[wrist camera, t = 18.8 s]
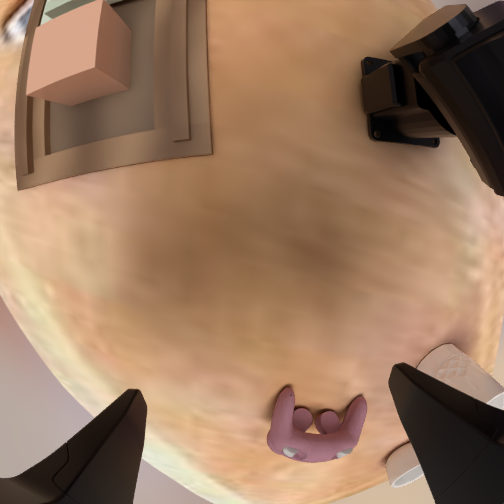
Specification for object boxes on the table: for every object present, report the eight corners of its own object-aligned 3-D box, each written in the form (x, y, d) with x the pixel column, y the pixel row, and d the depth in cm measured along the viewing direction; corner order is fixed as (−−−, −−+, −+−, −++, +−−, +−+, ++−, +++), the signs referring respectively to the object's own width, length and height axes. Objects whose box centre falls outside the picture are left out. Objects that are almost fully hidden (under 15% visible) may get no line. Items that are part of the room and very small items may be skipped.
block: (131, 31, 14) (103, -3, 9) (129, 89, 16) (94, 67, 10) (73, 50, 14) (35, 28, 9) (70, 106, 15) (25, 95, 10)
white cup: (420, 400, 27) (456, 455, 17) (396, 378, 25) (438, 445, 15) (466, 356, 25) (510, 403, 16) (449, 326, 23) (506, 381, 14)
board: (208, -94, 9) (207, -104, 7) (212, 154, 18) (210, 153, 16) (60, -51, 8) (53, -58, 7) (25, 189, 17) (11, 192, 15)
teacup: (378, 453, 30) (390, 479, 25) (424, 428, 29) (438, 453, 24) (383, 472, 33) (392, 494, 28) (422, 452, 32) (433, 473, 27)
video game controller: (265, 396, 26) (258, 460, 21) (284, 383, 23) (279, 457, 18) (345, 406, 28) (345, 462, 22) (370, 394, 24) (373, 457, 19)
